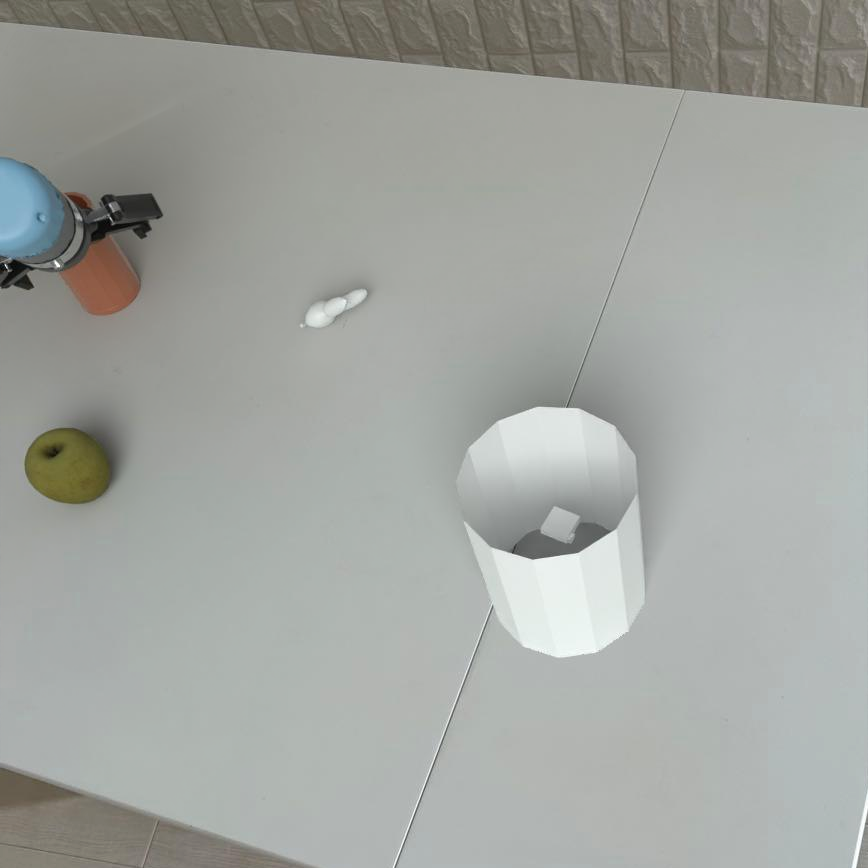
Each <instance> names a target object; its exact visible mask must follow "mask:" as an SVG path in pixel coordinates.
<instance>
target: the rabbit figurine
mask: <svg viewBox="0 0 868 868" xmlns="http://www.w3.org/2000/svg"><path fill="white" fill-rule="evenodd" d="M367 296H368V290H366V288H365V289H364V288H357V289H355V290H352V291H350V292H348V293H347V294H345V295H343V296H336V297H331V298H330V299H329V300H318V301H315V302H313V304H311V306H310V307H308V309H307V310H306V312H305V316H304V321H302V322H301V323H299V327H300V328H305V327H306V326H307V327H310V328H314V329H322V328H326V327H329V326H330V325H332V324H333V322H334V321H335V320H336V316H338V315H339V316H340V314H342V313H343V312H345V311H349V310H351V309H353V308H355V307H356V306H358V305H359V304H361V303H363V301H364V300H365V299H366V298H367ZM346 321H347V317H345V318H344V322H343V324H342V327H343V328H342V329H344V327H345V324H346Z"/></svg>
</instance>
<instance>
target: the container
mask: <svg viewBox="0 0 868 868" xmlns="http://www.w3.org/2000/svg"><path fill="white" fill-rule="evenodd" d="M638 478H639V477H638V465H637V456H636V455H635V453H634V452H633V450H632V449H631V447H630V445H629V444H628V443H627V441H626V440H625V438H624V437H623V436H622V434H621V432H620V431H619V430H618V428H617V427H616V426H615V425H614V424H612V423H609V422H608V421H605V420H603V419H602V418H600V417H598V416H596V415H594V414H592V413H589V412H587V411H585V410H583V409H581V408H577V407H555V406H554V407H553V406H535V407H533V408H529V409H527V410H523V411H522V412H518V413H516V414H513V415H511V416H507V417H505V418H502V419H499V420H497V421H496V422H495V423H493V425H491V427H489V428H488V429H487V430H486V431H485V432H484V433H483V434H482V435H480V437H478V439H476V441H474V442H473V443H472V444H471V445H470V446H468V448H467V450H466V453H465V455H464V458H463V461H462V464H461V467H460V469H459V472H458V475H457V478H456V481H455V483H454V485H455V489H456V494H457V498H458V503H459V507H460V513H461V517H462V521H463V524H464V527H465V529H466V532H467V536H468V538H469V540H470V544H471V547H472V550H473V552H474V556H475V558H476V560H477V563H478V566H479V569H480V572H481V575H482V577H483V580H484V583H485V586H486V588H487V592H488V596H489V598H490V600H491V604H492V606H493V609H494V612H495V614H496V617H497V620H498V622H499V623H500V624H501V626H503V628H504V629H506V630H507V632H508V633H509V634H510V635H511V636H512V637H513V638H514V639H515V640H516V641H517V642H518V643H519V644H520V645H521V647H523V648H526V649H529V648H530V649H529V650H531V651H535V652H538V651H539V653H541V652H542V654H545V655H548V656H550V655H551V657H553V658H557V659H561V658H569V657H575V656H583V655H582V654H584V655H590V653H591V654H597V653H598V652H600V651H602V650H603V649H604V648H606V647H607V645H608V646H610V643H611V644H613V641H614V640H615V641H617V640H618V639H620V638H621V637H623V636H624V635H626V634H627V633H629V632H630V630H629V629H631V628H632V626H633V624H634V623H635V621H636V619H637V617H638V615H639V614H640V612H641V610H640V609H642V608H643V606H644V604H645V603H646V574H645V573H646V572H645V570H646V569H645V556H644V544H643V533H642V532H643V531H642V529H643V528H642V518H641V506H640V504H641V503H640V496H639V495H640V492H639V479H638ZM580 523H586V524H597V525H599V526H600V525H601V526H600V527H602V526H603V527H602V528H604V529H606V530H608V531H609V533H607V534H606V535H604V536H603V537H601V538H599V539H598V540H596V541H595V542H593V543H591V544H590V545H589V546H587V547H585V548H584V549H582V550H581V551H579V552H576V553H568V554H562V555H555V556H550V557H549V556H548V557H542V558H535V559H531V558H528V557H525V556H522V555H519V554H515V553H511V552H510V551H511V550H512V549H513V548H514V547H515V546H516V545H517V544H518V543H519V542H520V541H521V540H523V538H524V537H526V535H527V534H530V533H532V532H535V531H538V530H540V534H542V535H544V536H547V537H549V538H551V539H554V540H556V541H559V542H562V543H564V544H568V543H569V544H572V543H573V542H574V539H575V538H576V536H575V535H576V534H575V532H576V530H577V528H578V527H579V525H580ZM611 531H612V532H611ZM642 605H643V606H642ZM641 607H642V608H641ZM637 614H638V615H637ZM636 616H637V617H636ZM635 618H636V619H635ZM634 620H635V621H634ZM632 623H633V624H632ZM631 625H632V626H631ZM630 627H631V628H630ZM626 632H627V633H626ZM625 633H626V634H625ZM623 634H624V635H623ZM622 635H623V636H622ZM620 636H621V637H620ZM619 637H620V638H619ZM616 639H617V640H616ZM615 641H614V642H615ZM599 650H600V651H599Z"/></svg>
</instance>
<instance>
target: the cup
mask: <svg viewBox="0 0 868 868" xmlns="http://www.w3.org/2000/svg"><path fill="white" fill-rule="evenodd" d="M63 193H64V194H65V195H66V196H67V197H68V198H69V199H71V200H72V201H73V202H74V203H75V204H77V205H78V206H79V207H80V208H83V207H90V208H91V209H92V210H96V209H97V208H96V207H95V205H94V203H93V202H92V201H91V199H90V198H89V196H87V195H86V194H83V193H80V192H77V191H68V192H67V191H65V192H63ZM56 273H57V275H58V276H59V277H60V278H61V280H62V281H63V283H64V284H65V286H66V287H67V288H68V290H69V291H70V293H71V294H72V296H73V297H74V298H75V300H76V301H77V303H78V304H79V305H80V306H81V307H82V309H83V310H84V311H85V312H87V313H88V314H90V315H93V316H94V315H95V316H107V315H113V314H115V313H118V312H119V311H122V310H124V309H125V308H127V307H128V306H129V305H130V304H132V302H133V301H134V300H135V299H136V298H137V296H138V294H139V292H140V290H141V282H140V279H139V276H138V275H137V272H136V271H135V269H134V267H133V266H132V265H131V263H130V261H129V259H128V257H126V254H125V253H124V251H123V250H122V248H121V247H120V245H119V244H118V242H117V240H116V239H115V237H114V234H111V235H107V236H106V237H105V238H104V239H103V240H101V241H100V242H98V243H96V244H92V245H90V246H89V249H88V252H87V253H86V255H85V257H84V258H83V259H82V260H81V261H80V262H79V263H78V264H77V265H76V266H74V267H72V268H70V269H68V270H65V271H61V272H56Z"/></svg>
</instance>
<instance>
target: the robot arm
mask: <svg viewBox="0 0 868 868" xmlns="http://www.w3.org/2000/svg"><path fill="white" fill-rule="evenodd" d="M98 203H99V206H100V207H98V208H96V210H92V209H91V208H90V207H83V208H80V207H79V206H78V205H77V204H75V203H74V202H73V201H72V200H71V199H69V198H68V197H67V196H66V195H65V194H64V192H62V191H61V190H59V189H58V188H57V187H56V186H55V185H54V184H53V183H52V181H50V179H48V178H47V176H46V175H44V174H43V173H41V172H40V171H39V170H38V169H37V168H35V167H34V166H32V165H30V164H28V163H25V162H20V161H18V160H16V159H14V158H11V157H6V156H0V289H1V290H7V289H9V288H11V287H12V286H14V287H16V288H19V289H23V290H25V291H30V290H31V289H32V290H33V289H35V286H34V284H33V282H32V281H31V279H30V277H29V275H28V273H29V272H33V271H36V270H38V271H40V272H46V273H57V272H61V271H65V270H68V269H70V268H72V267H74V266H76V265H77V264H78V263H79V262H80V261H81V260H82V259H83V258H84V257H85V255H86V253H87V252H88V249H89V246H90V245H92V244H96V243H98V242H100V241H101V240H103V239H104V238H105V237H106V236H107V235H111V234H112V235H115V234H118V233H123V232H126V231H131V230H132V232H133V233H134V234H135V235H136V236H137V237H138V238H139V239H140V240H144V239H145V238H147V237H148V235H147V233H150V232H151V231H153V227H152V226H151V224H150V221H154V220H160V219H162V218H163V217H164V213H163V211H162V209H161V207H160V205H159V203H158V201H157V199H156V197H155V196H154V194H153V193H152V192H148V193H138V194H137V193H136V194H125V195H124V194H123V195H115V194H112V193H109V194H108V193H106V194H104V195H102V196H101V197H100V201H98Z"/></svg>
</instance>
